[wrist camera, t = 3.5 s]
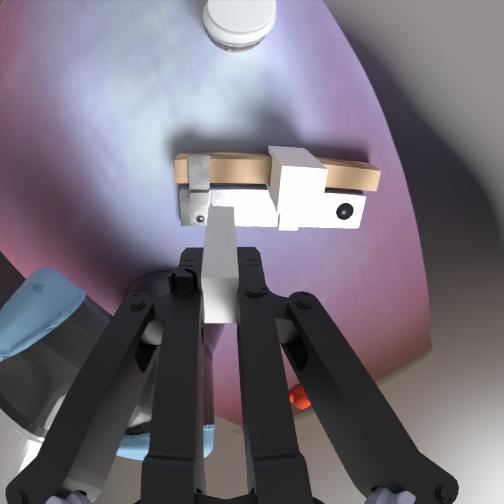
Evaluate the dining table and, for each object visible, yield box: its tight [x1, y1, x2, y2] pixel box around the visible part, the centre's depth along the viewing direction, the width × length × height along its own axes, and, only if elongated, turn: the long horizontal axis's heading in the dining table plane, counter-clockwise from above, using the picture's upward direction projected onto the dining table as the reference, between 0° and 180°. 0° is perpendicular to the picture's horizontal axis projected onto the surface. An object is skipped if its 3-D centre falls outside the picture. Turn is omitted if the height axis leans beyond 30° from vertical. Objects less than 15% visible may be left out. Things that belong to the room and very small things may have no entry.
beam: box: [174, 152, 381, 191], centre depth 29 cm, size 22×2×3 cm, turn 87°
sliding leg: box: [266, 145, 328, 230], centre depth 27 cm, size 4×8×8 cm, turn 177°
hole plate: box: [179, 186, 366, 228], centre depth 32 cm, size 22×4×1 cm, turn 87°
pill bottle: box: [202, 0, 277, 52], centre depth 17 cm, size 6×6×10 cm
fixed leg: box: [189, 155, 210, 223], centre depth 28 cm, size 2×7×2 cm, turn 177°
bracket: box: [289, 384, 311, 409], centre depth 57 cm, size 12×4×5 cm, turn 152°
